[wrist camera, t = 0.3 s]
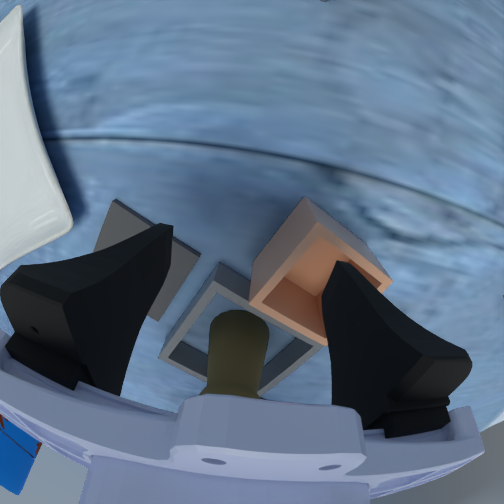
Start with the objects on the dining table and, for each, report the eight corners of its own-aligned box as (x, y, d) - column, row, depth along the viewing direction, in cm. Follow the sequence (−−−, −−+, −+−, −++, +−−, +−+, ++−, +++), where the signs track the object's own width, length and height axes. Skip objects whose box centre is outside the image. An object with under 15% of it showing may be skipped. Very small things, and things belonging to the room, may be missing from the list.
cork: (203, 343, 28) (180, 431, 18) (219, 301, 25) (195, 398, 16) (256, 359, 29) (250, 448, 19) (279, 321, 26) (282, 419, 16)
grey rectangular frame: (253, 382, 30) (252, 401, 28) (166, 338, 28) (157, 357, 25) (321, 323, 26) (325, 344, 23) (219, 262, 24) (213, 280, 21)
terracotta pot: (315, 301, 25) (325, 346, 20) (252, 261, 23) (248, 304, 18) (366, 244, 22) (393, 281, 17) (304, 196, 21) (317, 221, 15)
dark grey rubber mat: (160, 318, 27) (158, 321, 26) (89, 271, 25) (86, 274, 24) (200, 254, 23) (199, 257, 23) (115, 199, 22) (112, 201, 21)
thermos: (74, 393, 37) (25, 498, 15) (30, 362, 35) (-27, 456, 13) (74, 364, 33) (8, 492, 10) (24, 328, 31) (-52, 437, 8)
